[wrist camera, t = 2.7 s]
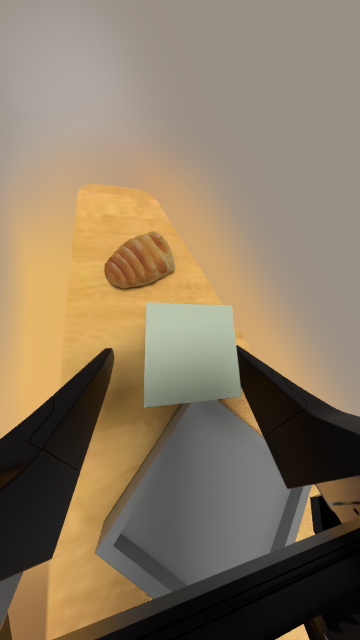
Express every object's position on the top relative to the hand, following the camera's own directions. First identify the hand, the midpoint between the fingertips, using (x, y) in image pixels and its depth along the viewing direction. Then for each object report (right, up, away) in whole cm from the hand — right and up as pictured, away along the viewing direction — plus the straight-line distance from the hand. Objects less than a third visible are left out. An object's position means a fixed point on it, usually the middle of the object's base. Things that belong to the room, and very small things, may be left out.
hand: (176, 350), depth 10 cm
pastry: (-5, +10, +10) cm, 15 cm away
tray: (+4, -18, +6) cm, 19 cm away
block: (-2, -2, +8) cm, 8 cm away
